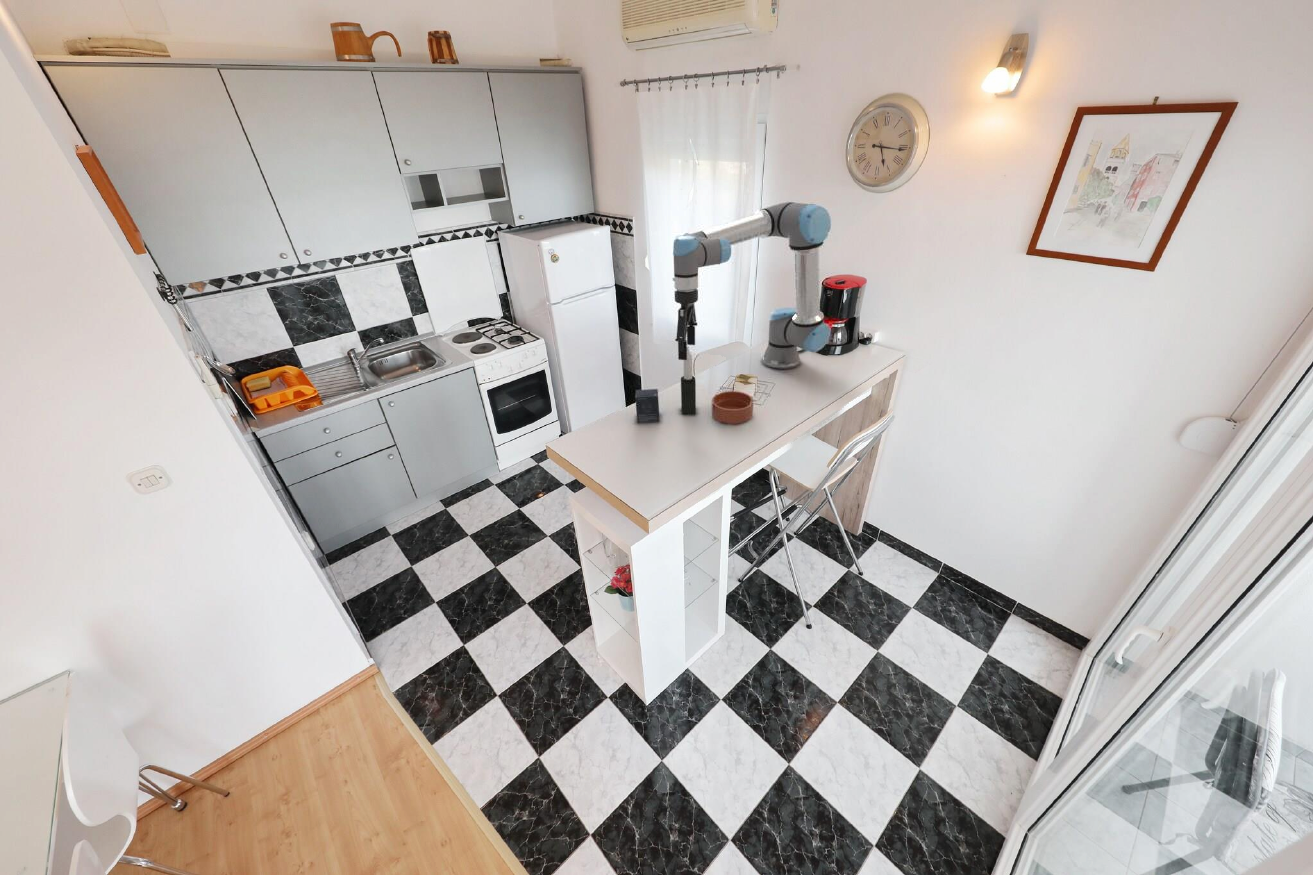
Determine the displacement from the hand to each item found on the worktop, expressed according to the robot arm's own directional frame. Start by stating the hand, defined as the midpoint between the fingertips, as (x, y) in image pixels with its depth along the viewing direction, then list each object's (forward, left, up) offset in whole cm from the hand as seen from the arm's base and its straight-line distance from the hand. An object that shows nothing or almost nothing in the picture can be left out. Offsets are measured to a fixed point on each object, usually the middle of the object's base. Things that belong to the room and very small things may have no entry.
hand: (687, 351), depth 170 cm
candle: (0, 0, -23) cm, 23 cm away
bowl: (-9, +13, -23) cm, 28 cm away
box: (+14, -6, -23) cm, 28 cm away
